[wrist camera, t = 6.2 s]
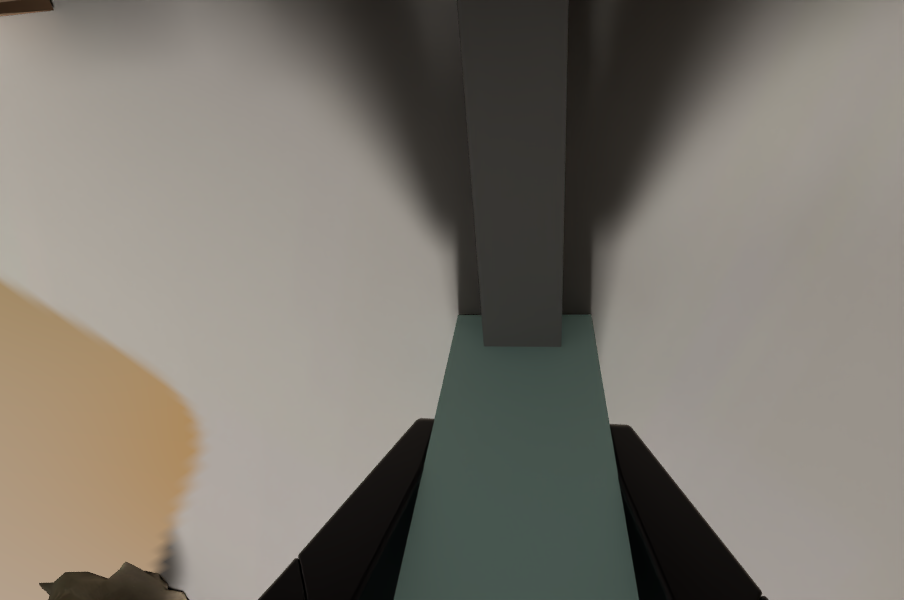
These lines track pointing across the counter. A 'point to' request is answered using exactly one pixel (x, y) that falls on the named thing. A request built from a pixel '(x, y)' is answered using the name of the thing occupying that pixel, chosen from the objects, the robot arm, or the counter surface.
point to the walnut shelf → (23, 6)
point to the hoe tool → (518, 355)
